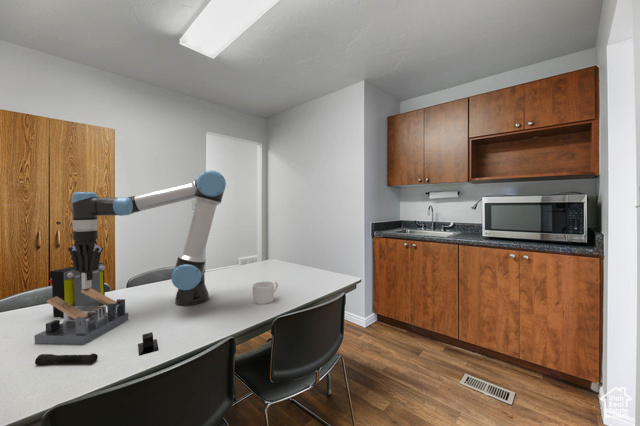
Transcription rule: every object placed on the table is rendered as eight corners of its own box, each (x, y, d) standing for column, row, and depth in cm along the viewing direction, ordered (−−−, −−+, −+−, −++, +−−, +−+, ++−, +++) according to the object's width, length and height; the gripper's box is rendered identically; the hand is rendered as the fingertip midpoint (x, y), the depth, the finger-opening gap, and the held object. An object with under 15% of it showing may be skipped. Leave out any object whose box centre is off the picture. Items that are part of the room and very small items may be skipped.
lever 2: (116, 305, 110) (118, 302, 110) (110, 308, 107) (111, 305, 107) (87, 289, 111) (88, 286, 110) (80, 291, 108) (81, 289, 107)
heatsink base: (128, 319, 112) (127, 298, 112) (83, 344, 92) (82, 318, 92) (87, 319, 113) (86, 298, 113) (34, 343, 93) (33, 318, 93)
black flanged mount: (135, 344, 93) (134, 331, 93) (159, 338, 97) (159, 325, 97) (135, 361, 83) (135, 346, 83) (162, 353, 87) (162, 339, 87)
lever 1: (87, 318, 97) (89, 315, 97) (79, 322, 94) (81, 319, 94) (55, 299, 98) (56, 296, 97) (46, 302, 95) (48, 299, 94)
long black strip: (45, 361, 83) (44, 352, 83) (98, 360, 83) (98, 351, 83) (35, 367, 80) (34, 357, 80) (90, 366, 80) (89, 356, 80)
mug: (259, 306, 126) (259, 289, 125) (249, 300, 134) (248, 284, 133) (283, 299, 135) (283, 283, 134) (272, 294, 142) (272, 279, 142)
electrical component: (68, 318, 114) (66, 272, 114) (49, 316, 116) (48, 271, 116) (108, 303, 131) (107, 263, 131) (91, 302, 133) (90, 262, 133)
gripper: (108, 229, 112) (109, 285, 112) (78, 229, 112) (80, 284, 113) (92, 231, 104) (93, 291, 105) (60, 231, 105) (62, 290, 106)
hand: (86, 288), depth 109 cm, fingers closed
